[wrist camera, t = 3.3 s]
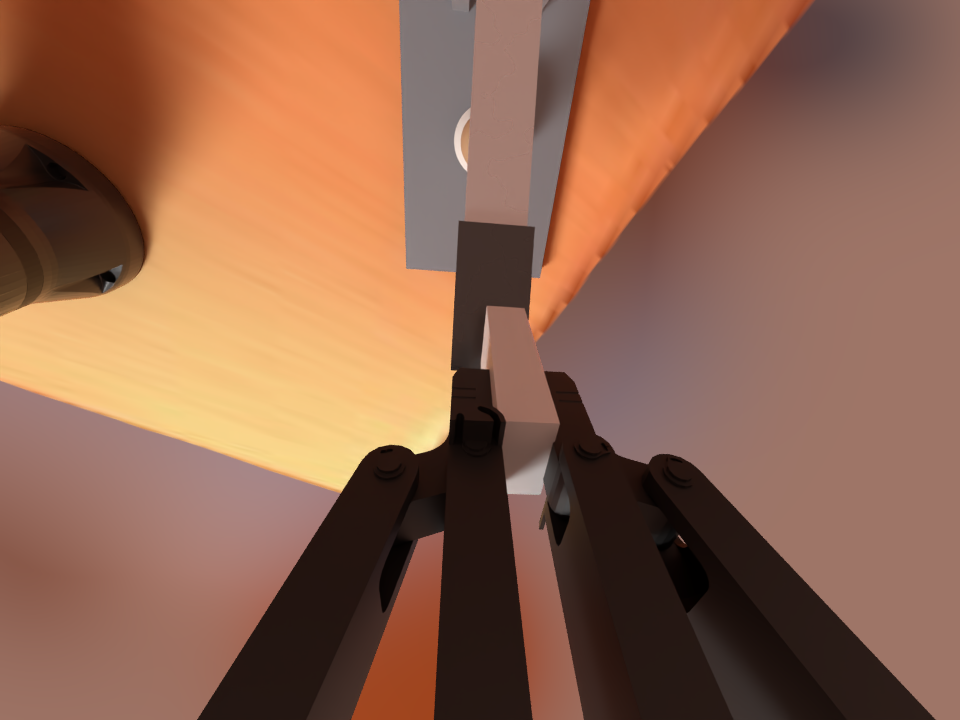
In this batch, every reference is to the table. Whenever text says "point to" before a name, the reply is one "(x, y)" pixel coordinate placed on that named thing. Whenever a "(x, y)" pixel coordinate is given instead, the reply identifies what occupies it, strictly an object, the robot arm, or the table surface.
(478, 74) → the press lever
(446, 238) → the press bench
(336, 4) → the table surface
